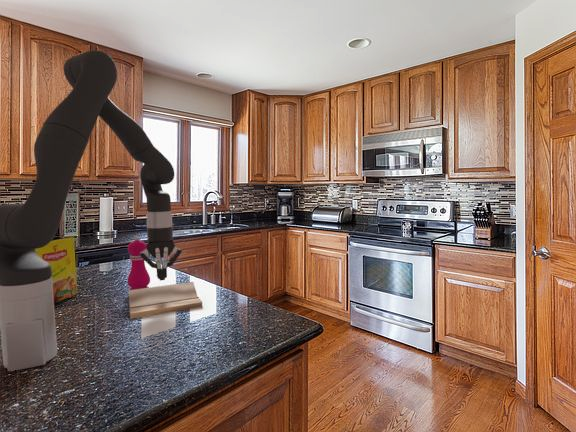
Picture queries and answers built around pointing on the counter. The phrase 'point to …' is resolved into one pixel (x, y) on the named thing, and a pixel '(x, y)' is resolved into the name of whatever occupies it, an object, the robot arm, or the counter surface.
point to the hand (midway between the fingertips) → (162, 279)
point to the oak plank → (164, 307)
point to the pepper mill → (137, 266)
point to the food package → (61, 267)
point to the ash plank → (161, 294)
